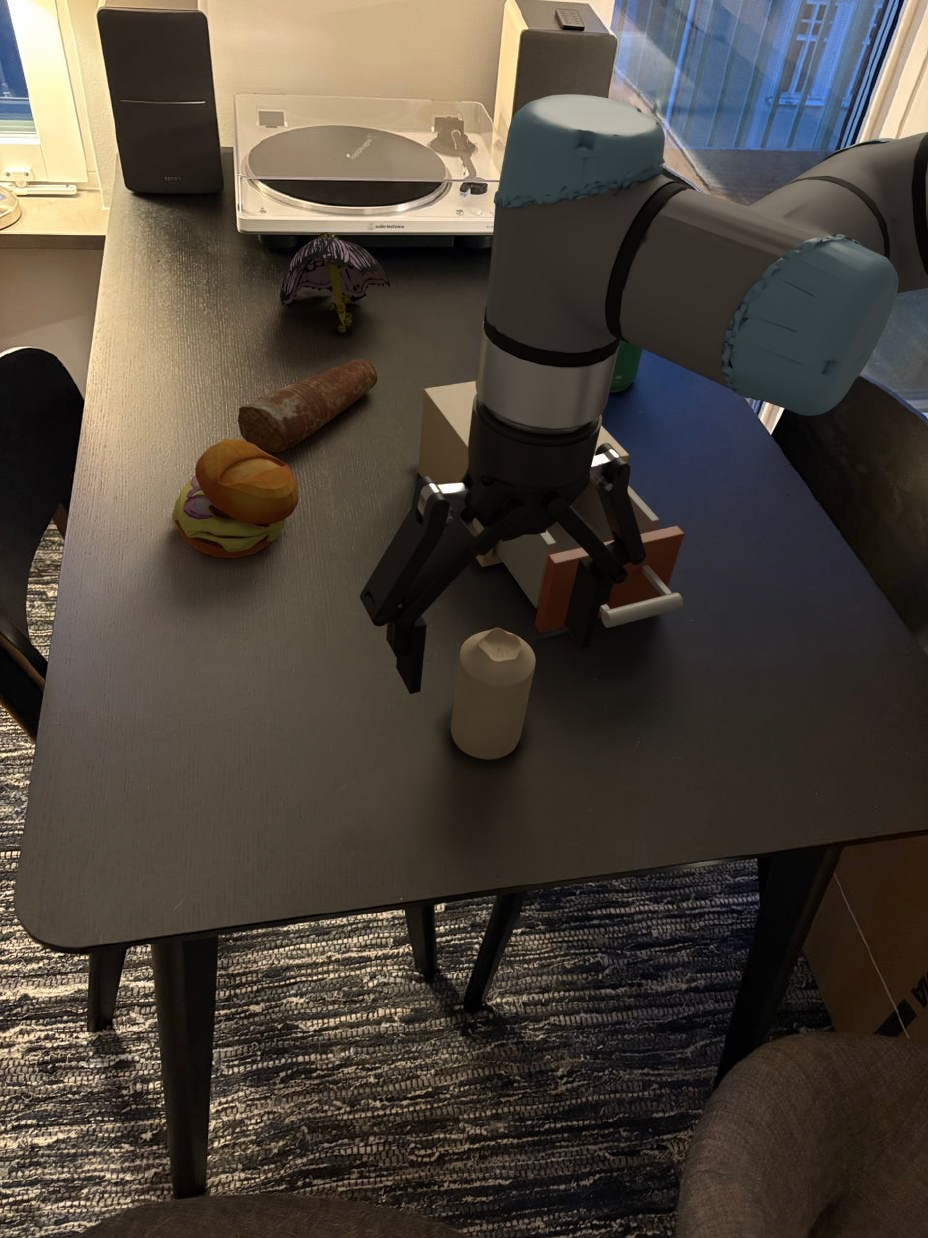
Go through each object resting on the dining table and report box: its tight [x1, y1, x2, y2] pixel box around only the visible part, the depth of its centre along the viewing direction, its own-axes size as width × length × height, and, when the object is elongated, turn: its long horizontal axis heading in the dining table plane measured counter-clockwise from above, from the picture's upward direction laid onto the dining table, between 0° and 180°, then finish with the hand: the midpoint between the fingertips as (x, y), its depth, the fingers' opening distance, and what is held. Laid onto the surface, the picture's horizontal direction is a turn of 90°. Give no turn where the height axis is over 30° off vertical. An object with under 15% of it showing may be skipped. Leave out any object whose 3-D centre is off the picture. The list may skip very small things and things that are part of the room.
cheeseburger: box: [171, 438, 299, 559], centre depth 88 cm, size 10×11×10 cm
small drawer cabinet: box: [417, 380, 630, 568], centre depth 94 cm, size 16×14×10 cm
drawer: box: [493, 480, 685, 634], centre depth 86 cm, size 20×13×8 cm, turn 24°
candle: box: [450, 627, 537, 760], centre depth 72 cm, size 6×6×10 cm
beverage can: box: [609, 340, 644, 393], centre depth 114 cm, size 8×8×12 cm
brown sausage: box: [237, 358, 378, 453], centre depth 103 cm, size 6×19×6 cm, turn 145°
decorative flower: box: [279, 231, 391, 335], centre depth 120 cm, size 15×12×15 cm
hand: (495, 657), depth 70 cm, fingers open, 13 cm apart
